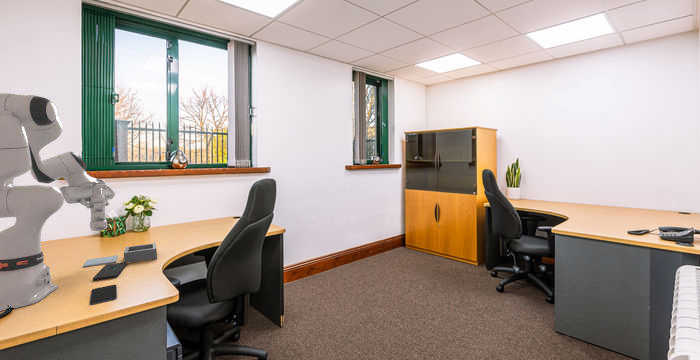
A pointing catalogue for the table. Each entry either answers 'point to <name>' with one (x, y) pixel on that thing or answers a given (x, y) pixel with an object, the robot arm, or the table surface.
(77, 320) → the table surface
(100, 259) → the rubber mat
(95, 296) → the smartphone
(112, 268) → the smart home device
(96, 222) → the plastic bottle
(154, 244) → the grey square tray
